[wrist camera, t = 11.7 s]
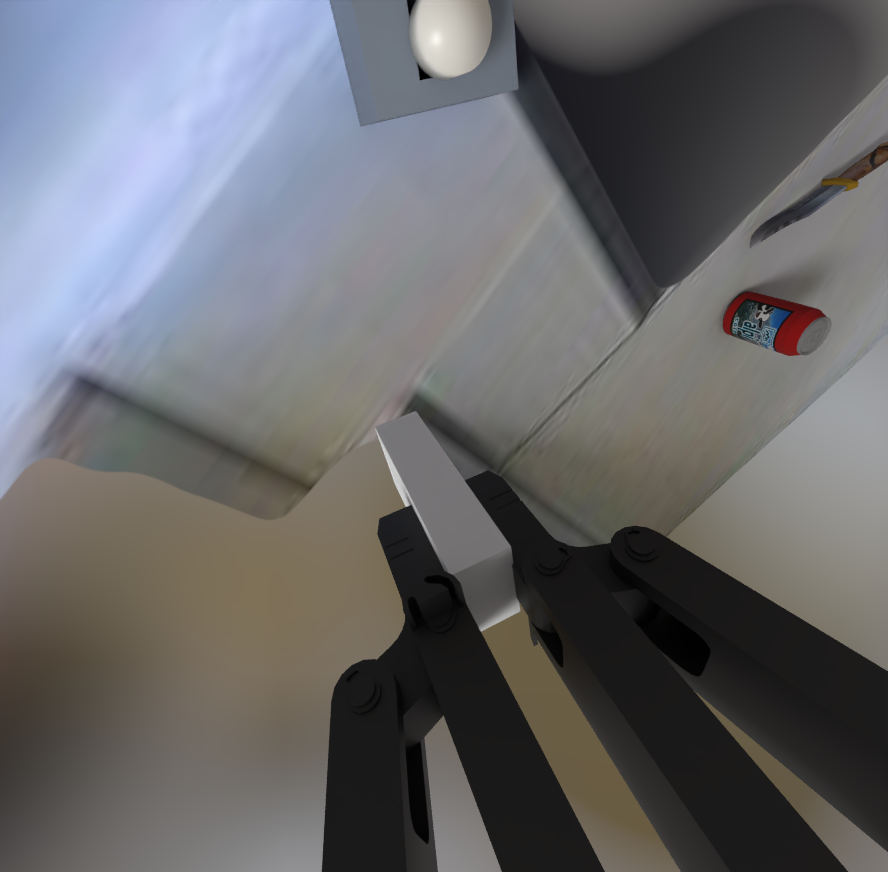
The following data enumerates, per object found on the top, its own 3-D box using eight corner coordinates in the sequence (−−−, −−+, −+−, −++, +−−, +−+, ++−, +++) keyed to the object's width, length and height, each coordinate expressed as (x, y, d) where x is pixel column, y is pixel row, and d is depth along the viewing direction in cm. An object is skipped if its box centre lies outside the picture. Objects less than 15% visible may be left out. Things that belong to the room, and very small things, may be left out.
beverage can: (720, 302, 64) (801, 326, 55) (755, 282, 65) (841, 303, 56) (716, 340, 69) (791, 368, 59) (749, 321, 69) (828, 346, 60)
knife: (733, 250, 60) (767, 256, 56) (733, 241, 59) (767, 247, 55) (873, 145, 60) (916, 144, 56) (874, 134, 59) (919, 133, 55)
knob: (397, 94, 35) (431, 80, 29) (380, 12, 32) (415, -24, 26) (450, 82, 36) (495, 66, 30) (440, 2, 33) (487, -36, 27)
